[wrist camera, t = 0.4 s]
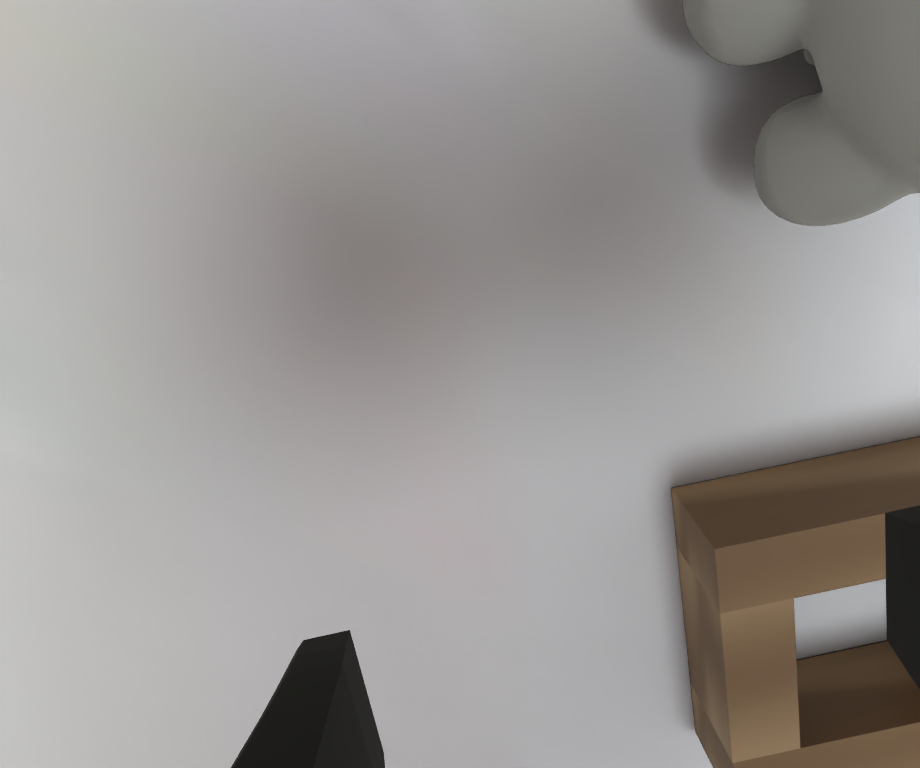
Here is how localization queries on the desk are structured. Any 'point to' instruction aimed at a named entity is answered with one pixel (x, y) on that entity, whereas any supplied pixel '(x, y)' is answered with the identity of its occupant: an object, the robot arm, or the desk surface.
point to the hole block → (772, 612)
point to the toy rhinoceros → (828, 100)
